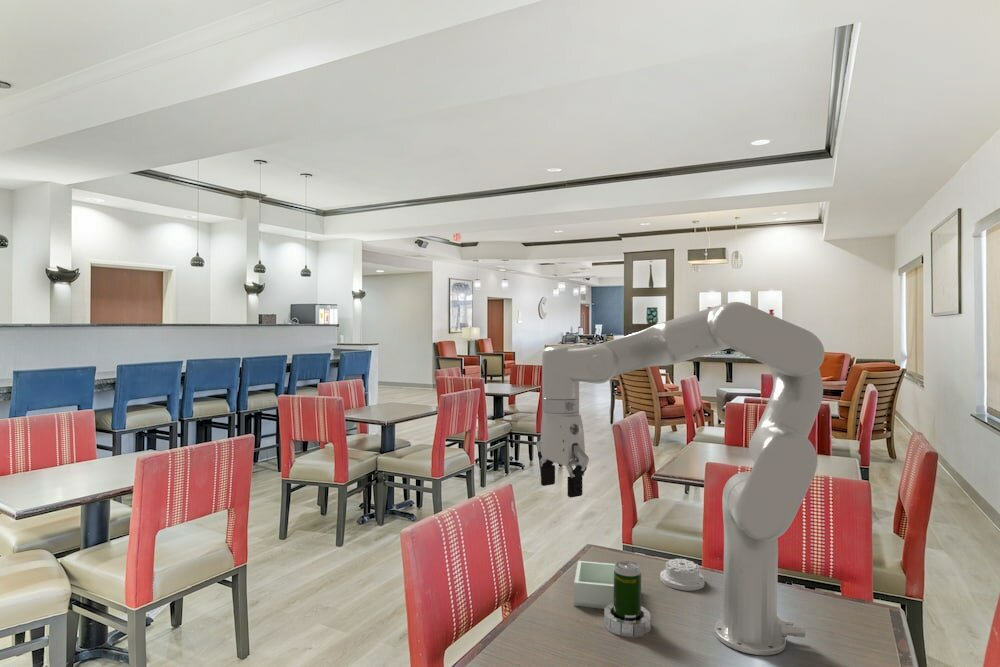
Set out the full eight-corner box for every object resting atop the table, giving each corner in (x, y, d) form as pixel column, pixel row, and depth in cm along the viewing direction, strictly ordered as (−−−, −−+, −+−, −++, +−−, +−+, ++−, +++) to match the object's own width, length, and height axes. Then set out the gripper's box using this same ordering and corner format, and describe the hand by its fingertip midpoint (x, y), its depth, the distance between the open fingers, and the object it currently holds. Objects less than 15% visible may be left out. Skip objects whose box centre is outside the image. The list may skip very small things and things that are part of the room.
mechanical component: (661, 589, 134) (707, 594, 132) (661, 570, 134) (707, 574, 132) (658, 572, 143) (701, 575, 141) (659, 554, 143) (701, 557, 141)
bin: (630, 586, 134) (630, 565, 134) (631, 611, 123) (631, 587, 122) (578, 581, 137) (578, 560, 137) (574, 605, 125) (574, 582, 125)
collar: (649, 616, 120) (649, 604, 120) (651, 639, 112) (651, 626, 112) (604, 612, 122) (604, 600, 122) (603, 634, 113) (603, 621, 113)
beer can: (645, 630, 115) (646, 569, 115) (620, 633, 114) (620, 572, 114) (633, 617, 120) (634, 559, 120) (609, 620, 119) (609, 561, 119)
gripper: (601, 410, 113) (602, 498, 113) (552, 401, 129) (553, 478, 129) (569, 413, 110) (570, 504, 110) (523, 403, 125) (523, 483, 125)
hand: (561, 490), depth 119 cm, fingers open, 9 cm apart
